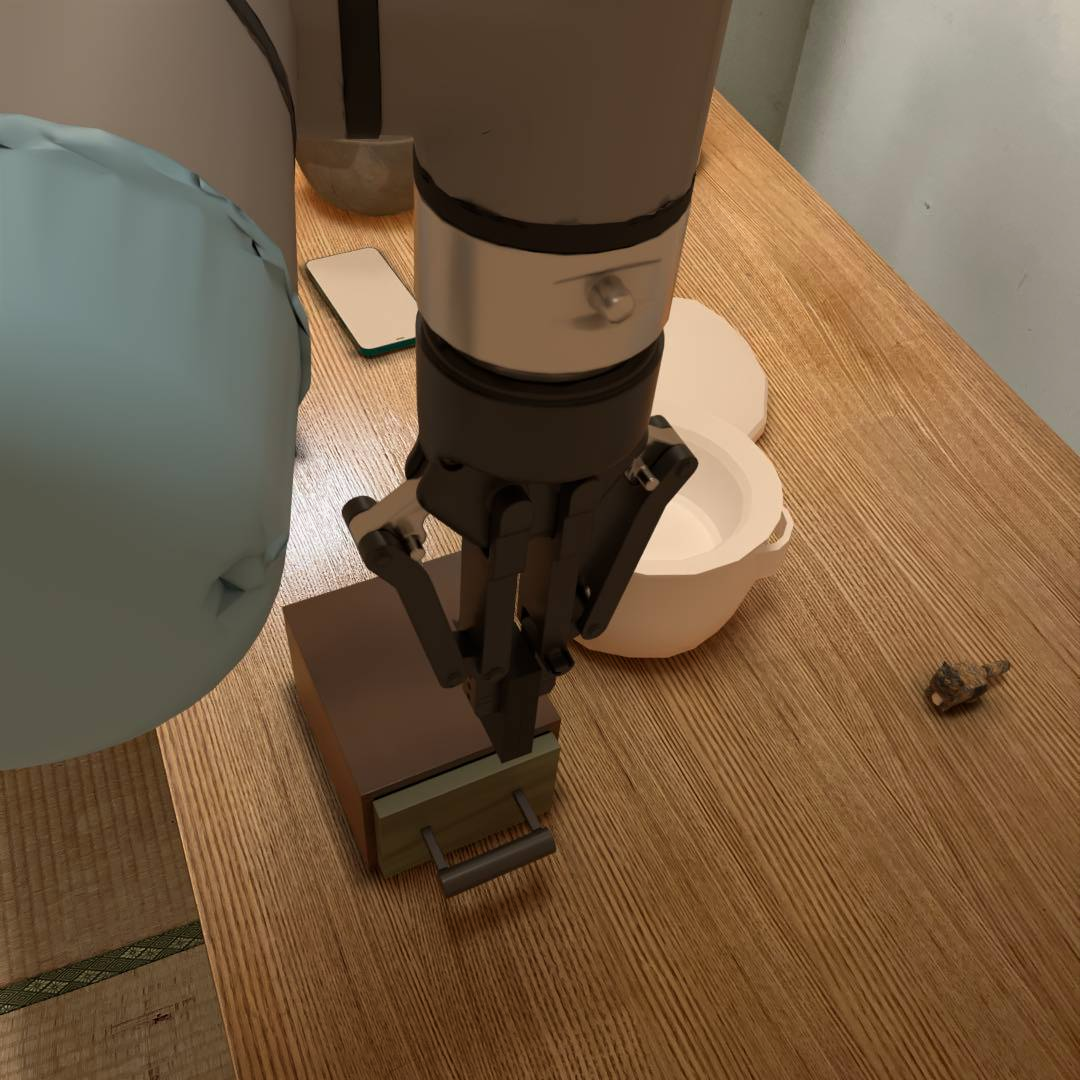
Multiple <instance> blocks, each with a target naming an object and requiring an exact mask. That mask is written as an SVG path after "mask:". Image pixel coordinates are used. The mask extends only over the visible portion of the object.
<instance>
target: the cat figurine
mask: <svg viewBox="0 0 1080 1080" xmlns="http://www.w3.org/2000/svg"><path fill="white" fill-rule="evenodd" d="M1010 670H1011V663H1010V662H1009V661H1007V660H1005V659H1000V660H995V661H993V662H992V661H991V662H988V663H986V664H985V663H984V664H982V665H975V664H973V663H971V662H969V661H968V660H964V661H961V662H958V663H953V664H951V665H950V664H949V663H948V662H947V661H946V660H943V663H942V665H941V666H940V667H939V668H938V669H937V671H936V672H935V673H933V675H932V677H931V679H930V680H929V682H928V685H929V686H928V687H926V688H925V689H924V692H925V693H926V694H927V695H928V696H931V700H932V703H933V704H935V705H936V706H937V707H938V709H939V710H940V711H941V712H945V711H947V710H949V709H950V708H952V707H954V706H957V705H959V704H961V703H967V704H971V703H974V702H976V701H977V700H978V699H979V698H980V697H981V696H983V695H984V694H985V693H987V692H988V691H989V687H988V683H987V680H988V679H992V678H994V677H998V676H1001V675H1003V674H1005V673H1008V671H1010Z"/></svg>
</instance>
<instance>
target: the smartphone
mask: <svg viewBox="0 0 1080 1080" xmlns="http://www.w3.org/2000/svg"><path fill="white" fill-rule="evenodd" d="M304 266H305V273H306V275H307V276H308V278H309V279H310V281H311V282H312V284H313V285H314V287H315V288H316V290H317V291H318V293H319V294H320V295H321V297H322V298H323V300H324V302H325V303H326V304H327V306H328V308H329V309H330V310H331V312H332V314H333V315H334V317H335V318H336V320H337V321H338V323H339V324H340V326H341V327H342V329H343V330H344V331H345V333H346V334H347V336H348V338H349V339H350V341H351V342H352V344H353V345H354V347H355V348H356V349H357V351H358V352H359V353H360V354H361V355H363V356H368V357H371V356H377V355H381V354H383V353H384V354H385V353H389V352H392V351H395V350H398V349H399V350H400V349H403V348H406V347H411V346H414V345H416V338H415V322H416V315H417V311H418V307H417V303H416V299H415V296H414V294H412V293H411V291H410V290H409V288H407V286H406V285H405V284H404V282H403V281H402V279H401V278H400V277H399V276H398V274H397V273H396V272H395V270H394V269H393V268H392V266H391V265H390V264H389V262H388V261H387V259H386V258H385V257H384V255H382V252H380V251H379V250H378V249H377V248H375V247H372V246H369V247H368V246H366V247H362V248H357V249H353V250H347V251H344V252H340V253H335V254H331V255H327V256H321V257H316V258H313V259H310V260H307V262H306V263H305V265H304Z"/></svg>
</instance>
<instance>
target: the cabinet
mask: <svg viewBox="0 0 1080 1080" xmlns="http://www.w3.org/2000/svg"><path fill="white" fill-rule="evenodd" d="M422 563H423V565H424V567H425V569H426V571H427V573H428V575H429V577H430V579H431V581H432V583H433V585H434V588H435V590H436V593H437V595H438V598H439V600H440V603H441V605H442V608H443V610H444V613H445V615H446V618H447V620H448V622H449V625H450V627H451V630H452V631H457V630H456V628H455V626H454V624H453V621H452V620H453V619H455V621H456V622H457V621H458V620H459V616H460V582H461V550H458V551H454V552H451V553H448V554H445V555H442V556H438V557H435V558H433V559H429V560H426V561H422ZM281 611H282V615H283V621H284V627H285V632H286V633H285V634H286V638H287V644H288V649H289V656H290V660H291V661H290V662H291V668H292V673H293V679H294V685H295V689H296V694H297V696H298V700H299V701H300V703H301V706H302V708H303V711H304V714H305V716H306V719H307V722H308V723H309V726H310V729H311V731H312V734H313V736H314V739H315V741H316V743H317V746H318V749H319V751H320V753H321V756H322V758H323V762H324V763H325V766H326V769H327V771H328V773H329V776H330V778H331V781H332V784H333V786H334V788H335V791H336V793H337V796H338V799H339V801H340V802H341V807H342V808H343V811H344V813H345V816H346V819H347V821H348V823H349V826H350V828H351V831H352V833H353V837H354V839H355V840H356V844H357V846H358V848H359V851H360V853H361V855H362V858H363V860H364V864H365V865H366V868H367V871H368V872H371V871H373V870H376V869H380V867H379V864H378V857H377V847H376V836H375V825H374V815H373V804H372V802H373V801H375V799H374V798H375V797H378V796H381V795H383V794H386V793H388V792H391V791H394V790H396V789H399V788H401V787H404V786H406V785H409V784H412V783H414V782H417V781H419V780H422V779H424V778H427V777H430V776H432V775H435V774H437V773H440V772H443V771H445V770H448V769H450V768H453V767H455V766H458V765H461V764H463V763H466V762H468V761H471V760H473V759H476V758H479V757H481V756H484V755H486V754H489V753H492V752H494V751H495V749H494V747H493V745H492V743H491V741H490V739H489V737H488V735H487V733H486V731H485V729H484V727H483V725H482V723H481V721H480V719H479V718H478V717H477V716H476V715H475V713H474V711H473V709H472V707H471V705H470V703H469V701H468V699H467V697H466V695H465V693H464V691H463V689H462V683H461V684H460V685H458V686H456V687H454V688H443V687H442V686H441V685H440V683H439V681H438V679H437V677H436V675H435V673H434V671H433V669H432V667H431V665H430V663H429V661H428V658H427V656H426V654H425V652H424V650H423V648H422V646H421V644H420V642H419V640H418V637H417V635H416V633H415V631H414V629H413V627H412V624H411V622H410V620H409V618H408V616H407V613H406V611H405V609H404V607H403V605H402V602H401V600H400V598H399V596H398V594H397V591H396V589H395V587H393V586H392V585H390V584H389V583H387V582H386V581H384V580H383V579H381V578H380V577H378V576H375V577H371V578H369V579H365V580H362V581H359V582H356V583H353V584H350V585H347V586H342V587H340V588H337V589H334V590H331V591H326V592H324V593H321V594H318V595H314V596H311V597H309V598H305V599H301V600H299V601H296V602H295V601H294V602H292V603H290V604H286V605H283V606H281ZM548 694H549V693H548ZM548 694H545V695H543V696H540V697H539V699H538V707H537V715H536V723H535V731H534V739H535V738H537V737H540V736H542V735H545V734H547V733H550V732H553V734H554V736H555V738H556V739H557V741H558V742H559V738H560V731H561V725H562V717H561V715H560V713H559V711H558V710H557V708H556V707H555V705H554V703H553V701H552V700H551V698H550V696H549V695H548Z"/></svg>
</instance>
